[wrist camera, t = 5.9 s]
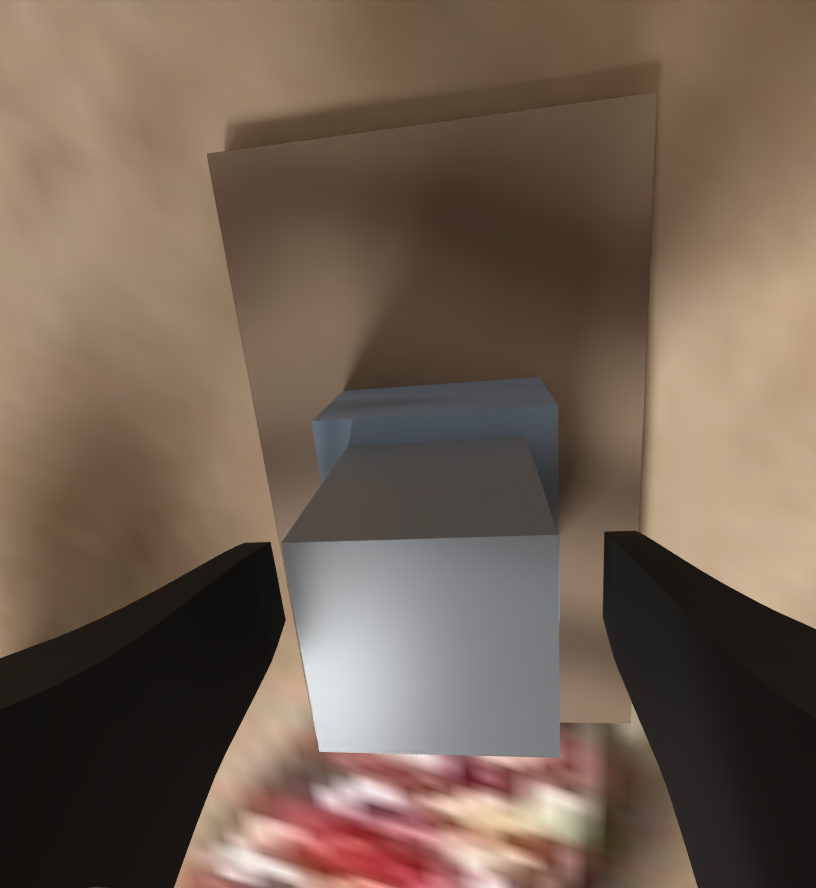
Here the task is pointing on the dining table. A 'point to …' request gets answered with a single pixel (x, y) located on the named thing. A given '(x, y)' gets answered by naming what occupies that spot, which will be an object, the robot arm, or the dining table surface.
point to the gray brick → (430, 601)
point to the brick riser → (459, 318)
